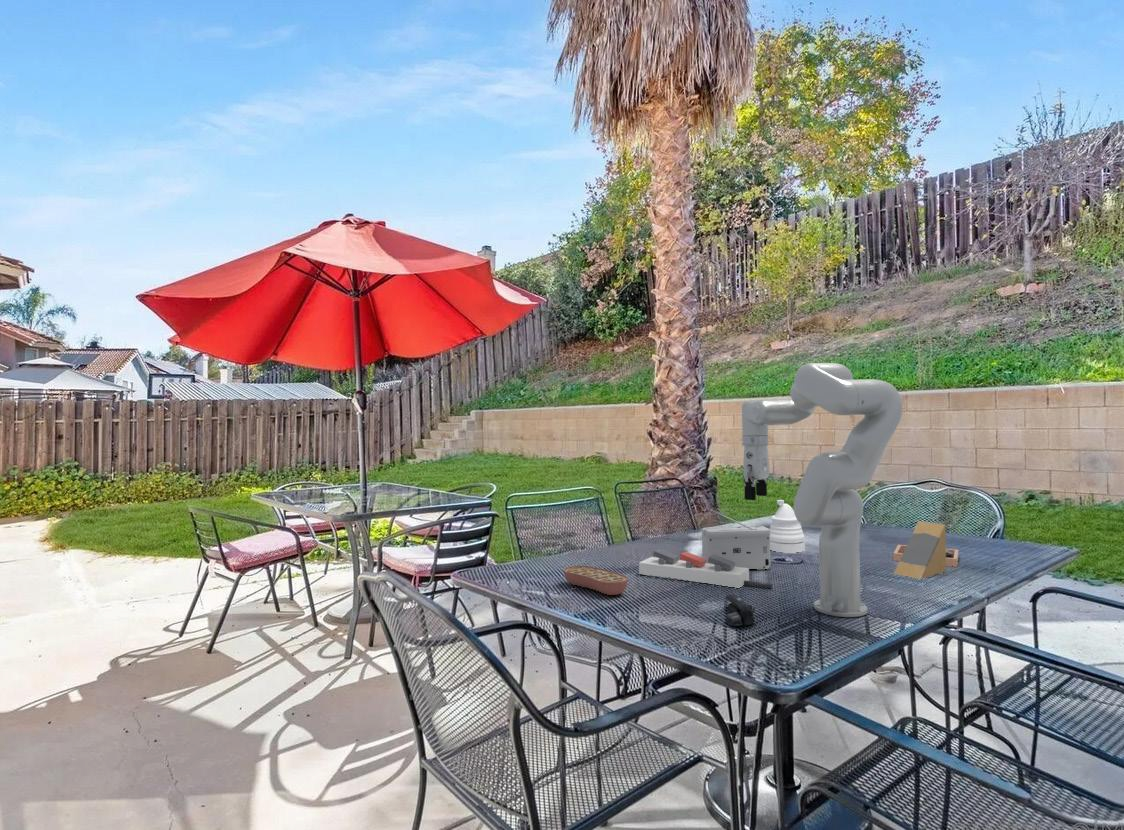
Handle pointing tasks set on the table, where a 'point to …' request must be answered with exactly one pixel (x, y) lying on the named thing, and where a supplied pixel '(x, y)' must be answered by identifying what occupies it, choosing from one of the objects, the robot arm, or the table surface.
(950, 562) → the tan wooden tray
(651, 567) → the power strip
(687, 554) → the rocker red
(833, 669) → the table surface
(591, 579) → the brown long rounded block
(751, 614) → the can opener
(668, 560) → the rocker far
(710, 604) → the table surface
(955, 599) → the table surface
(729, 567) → the rocker near
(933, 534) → the sandwich container
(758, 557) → the stereo radio cassette player
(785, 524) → the honey pot
